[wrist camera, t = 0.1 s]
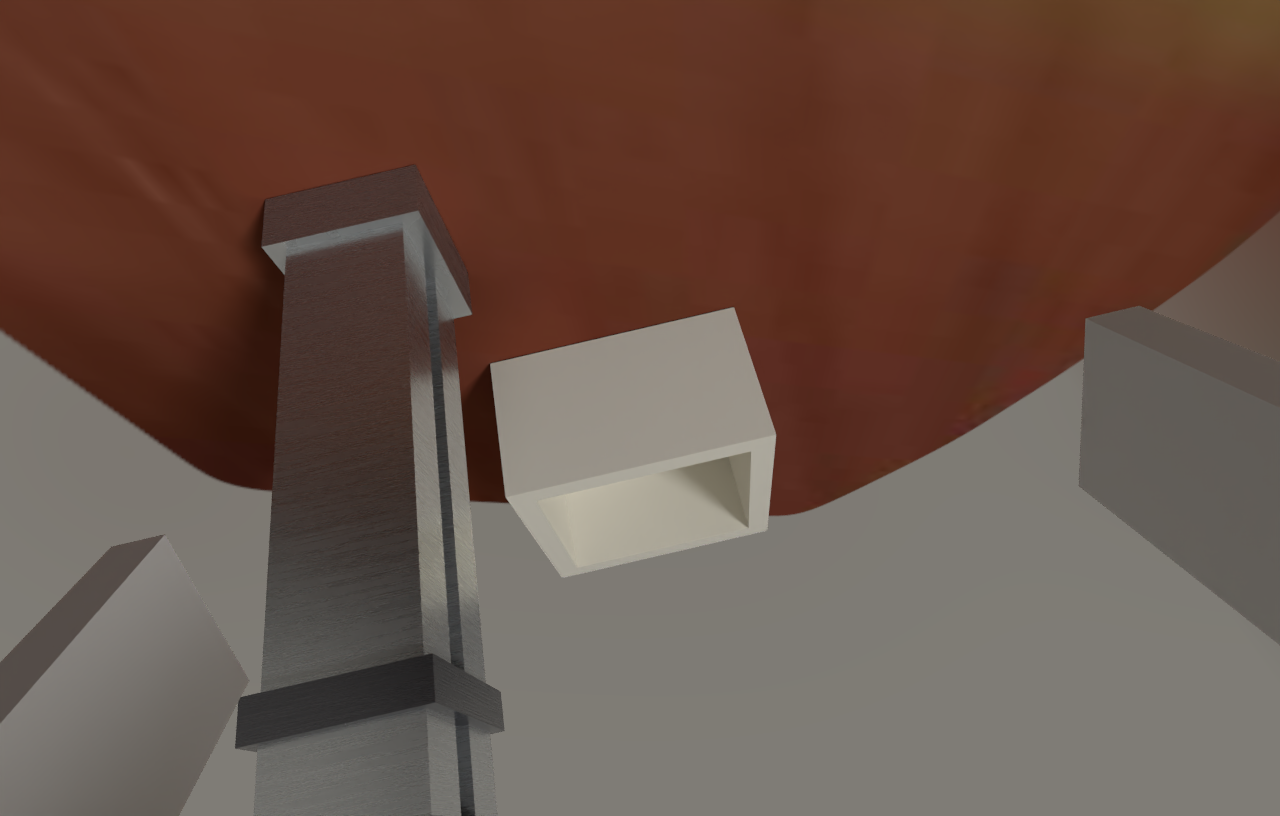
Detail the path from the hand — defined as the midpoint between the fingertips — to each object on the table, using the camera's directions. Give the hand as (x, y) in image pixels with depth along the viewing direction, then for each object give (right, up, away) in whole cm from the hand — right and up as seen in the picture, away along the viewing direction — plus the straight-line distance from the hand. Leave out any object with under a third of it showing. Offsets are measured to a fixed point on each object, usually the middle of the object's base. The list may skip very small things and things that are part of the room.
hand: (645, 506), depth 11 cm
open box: (-1, +2, +27) cm, 27 cm away
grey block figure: (-9, +7, +15) cm, 19 cm away
